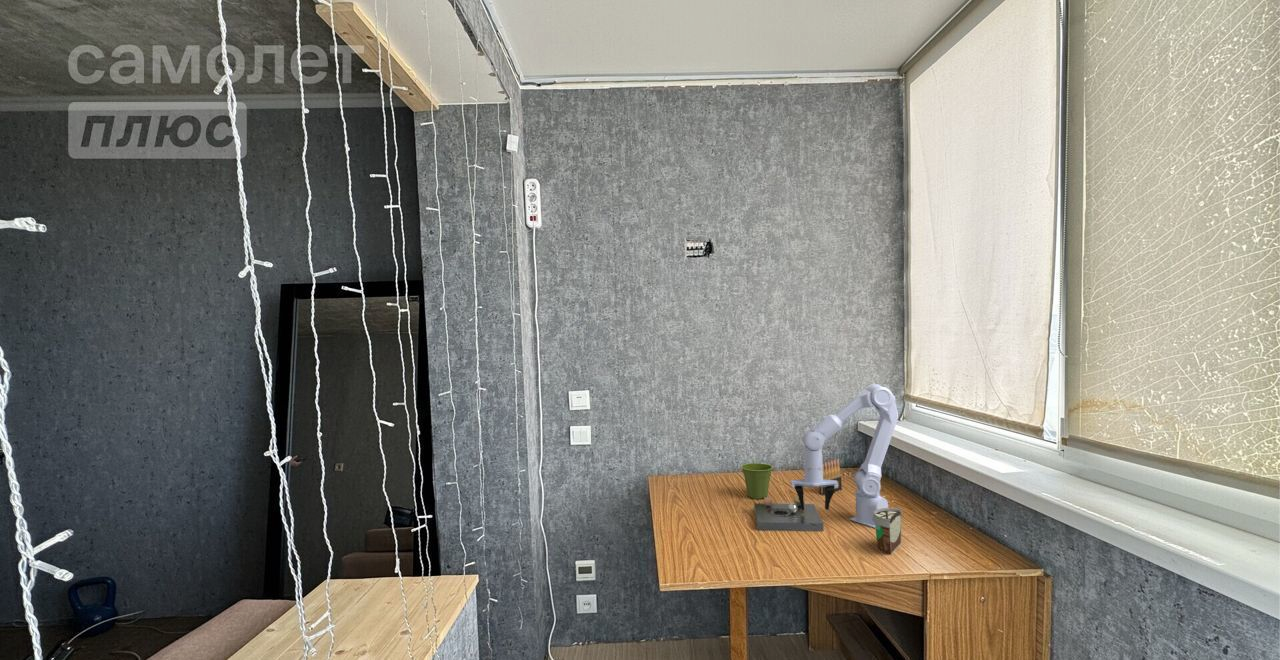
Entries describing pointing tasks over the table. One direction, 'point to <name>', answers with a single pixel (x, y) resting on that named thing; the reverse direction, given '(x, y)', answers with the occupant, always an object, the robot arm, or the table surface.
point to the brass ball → (798, 501)
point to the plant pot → (757, 479)
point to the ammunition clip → (831, 474)
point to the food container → (888, 529)
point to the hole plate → (787, 518)
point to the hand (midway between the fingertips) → (814, 508)
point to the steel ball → (792, 507)
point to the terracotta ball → (767, 501)
